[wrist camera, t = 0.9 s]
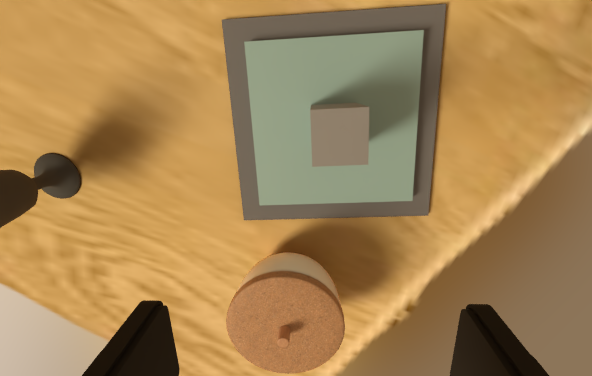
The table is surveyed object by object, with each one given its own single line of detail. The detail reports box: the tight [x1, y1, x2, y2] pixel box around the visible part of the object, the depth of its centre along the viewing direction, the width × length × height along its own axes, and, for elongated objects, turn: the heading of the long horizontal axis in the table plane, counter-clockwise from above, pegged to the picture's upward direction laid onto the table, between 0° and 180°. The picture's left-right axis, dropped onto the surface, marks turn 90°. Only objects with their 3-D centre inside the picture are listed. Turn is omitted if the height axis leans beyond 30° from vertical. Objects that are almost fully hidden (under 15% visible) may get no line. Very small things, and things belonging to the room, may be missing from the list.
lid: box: [244, 30, 424, 205], centre depth 25 cm, size 15×15×8 cm
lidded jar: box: [226, 252, 345, 373], centre depth 31 cm, size 11×11×9 cm
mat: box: [222, 4, 446, 220], centre depth 29 cm, size 19×19×1 cm
